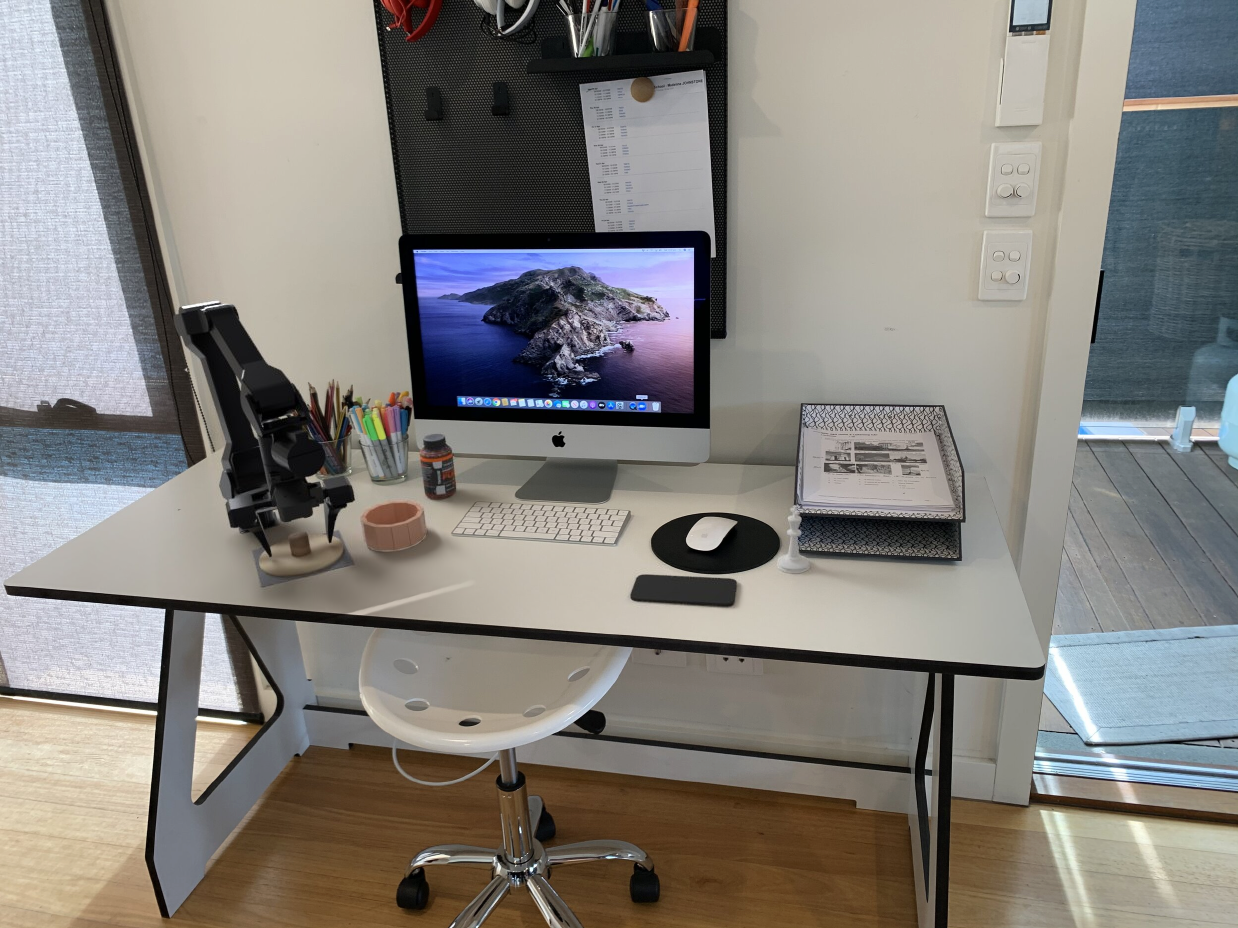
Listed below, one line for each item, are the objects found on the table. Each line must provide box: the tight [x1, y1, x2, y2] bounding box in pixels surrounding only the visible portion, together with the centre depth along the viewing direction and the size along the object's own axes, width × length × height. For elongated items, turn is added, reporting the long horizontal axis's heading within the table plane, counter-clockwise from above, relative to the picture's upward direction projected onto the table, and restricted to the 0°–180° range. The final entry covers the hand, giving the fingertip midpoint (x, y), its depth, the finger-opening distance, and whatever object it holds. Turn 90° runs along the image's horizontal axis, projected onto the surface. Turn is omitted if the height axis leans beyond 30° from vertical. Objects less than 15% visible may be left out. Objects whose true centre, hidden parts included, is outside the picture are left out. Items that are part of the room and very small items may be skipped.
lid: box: [259, 531, 344, 577], centre depth 144 cm, size 13×13×4 cm
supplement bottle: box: [419, 433, 457, 500], centre depth 165 cm, size 6×6×11 cm
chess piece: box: [776, 504, 811, 574], centre depth 134 cm, size 5×5×10 cm
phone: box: [629, 574, 738, 608], centre depth 131 cm, size 7×1×15 cm
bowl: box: [359, 500, 428, 553], centre depth 149 cm, size 10×10×5 cm
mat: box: [251, 529, 355, 588], centre depth 145 cm, size 14×14×1 cm
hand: (300, 548), depth 144 cm, fingers open, 9 cm apart
